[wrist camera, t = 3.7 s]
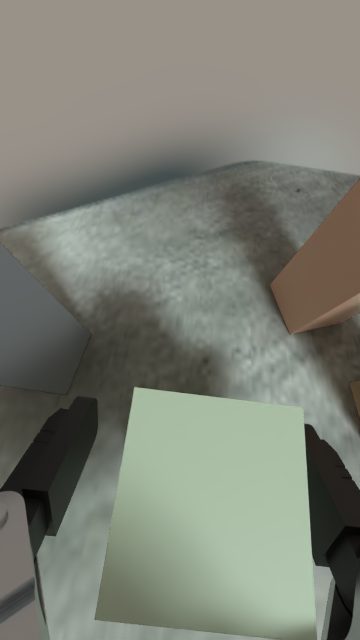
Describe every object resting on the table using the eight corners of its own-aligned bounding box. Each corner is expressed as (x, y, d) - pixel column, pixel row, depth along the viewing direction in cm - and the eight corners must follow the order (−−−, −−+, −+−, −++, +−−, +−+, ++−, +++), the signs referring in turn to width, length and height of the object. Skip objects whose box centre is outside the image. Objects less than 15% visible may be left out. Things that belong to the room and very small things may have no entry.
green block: (217, 408, 15) (303, 407, 6) (213, 483, 14) (317, 643, 4) (153, 400, 15) (134, 387, 6) (142, 475, 14) (94, 620, 4)
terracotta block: (317, 275, 19) (467, 143, 10) (340, 323, 18) (539, 225, 8) (269, 284, 18) (379, 155, 9) (289, 334, 17) (441, 244, 8)
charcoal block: (91, 334, 16) (-10, 232, 7) (66, 394, 15) (-101, 370, 6) (34, 319, 16) (-140, 198, 7) (4, 377, 15) (-262, 325, 6)
